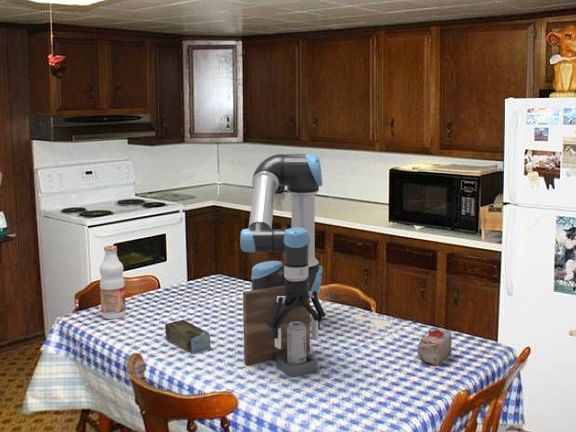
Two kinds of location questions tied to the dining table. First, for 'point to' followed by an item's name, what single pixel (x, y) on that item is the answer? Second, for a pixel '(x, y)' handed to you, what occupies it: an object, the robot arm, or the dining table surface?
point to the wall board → (255, 324)
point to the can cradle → (296, 369)
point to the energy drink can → (296, 343)
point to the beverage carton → (187, 336)
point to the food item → (435, 347)
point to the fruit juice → (112, 285)
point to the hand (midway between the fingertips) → (296, 343)
